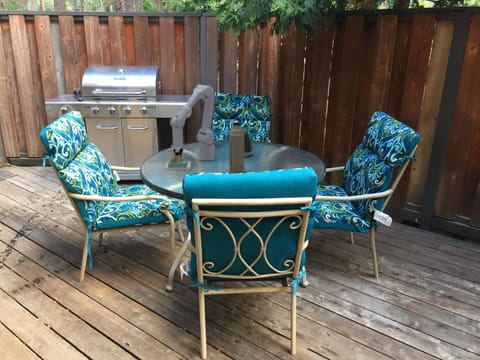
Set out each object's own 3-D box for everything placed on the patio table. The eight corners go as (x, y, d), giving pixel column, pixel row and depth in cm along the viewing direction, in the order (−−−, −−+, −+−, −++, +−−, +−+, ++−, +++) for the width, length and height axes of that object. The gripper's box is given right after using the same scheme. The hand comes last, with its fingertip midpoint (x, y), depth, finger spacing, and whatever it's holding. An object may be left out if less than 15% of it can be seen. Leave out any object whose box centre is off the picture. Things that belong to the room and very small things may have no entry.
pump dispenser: (237, 158, 251) (237, 134, 246) (234, 153, 261) (234, 130, 255) (253, 157, 253) (254, 133, 248) (250, 153, 263) (250, 129, 257)
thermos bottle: (229, 175, 222) (229, 124, 212) (229, 170, 229) (229, 121, 219) (244, 175, 222) (245, 124, 213) (243, 170, 230) (243, 121, 220)
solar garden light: (222, 145, 280) (221, 101, 269) (217, 150, 269) (216, 104, 258) (205, 144, 282) (204, 100, 272) (199, 148, 271) (198, 103, 261)
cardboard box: (181, 163, 236) (180, 154, 234) (180, 166, 230) (179, 157, 228) (173, 163, 236) (172, 154, 234) (172, 166, 230) (171, 157, 228)
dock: (191, 163, 241) (191, 156, 240) (190, 170, 230) (189, 163, 229) (167, 163, 240) (167, 157, 239) (164, 170, 229) (164, 163, 228)
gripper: (172, 135, 240) (173, 157, 244) (169, 141, 226) (170, 164, 231) (184, 134, 240) (185, 157, 245) (182, 141, 226) (183, 164, 231)
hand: (179, 160), depth 238 cm, fingers closed
